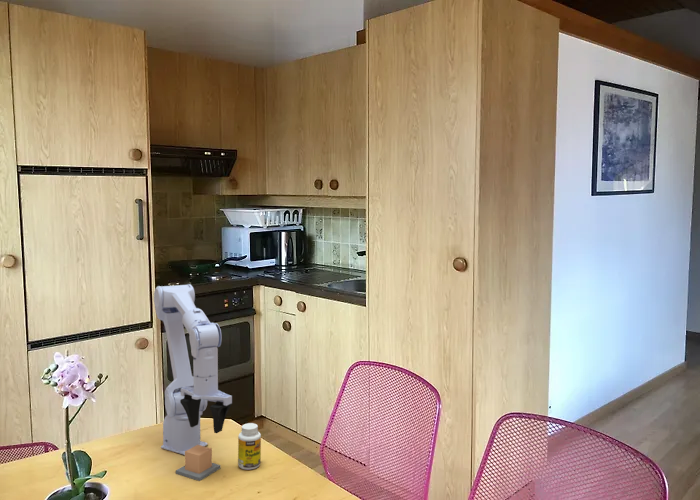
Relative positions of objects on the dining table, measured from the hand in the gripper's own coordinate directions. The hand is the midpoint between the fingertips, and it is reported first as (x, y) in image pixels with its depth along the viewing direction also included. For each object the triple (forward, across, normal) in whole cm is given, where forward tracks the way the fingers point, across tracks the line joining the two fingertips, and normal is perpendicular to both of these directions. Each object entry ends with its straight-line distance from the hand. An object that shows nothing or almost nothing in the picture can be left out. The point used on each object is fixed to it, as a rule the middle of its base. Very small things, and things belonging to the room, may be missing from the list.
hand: (206, 428), depth 140 cm
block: (+10, -1, -1) cm, 10 cm away
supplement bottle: (+11, +8, +7) cm, 15 cm away
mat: (+10, -1, -1) cm, 11 cm away
